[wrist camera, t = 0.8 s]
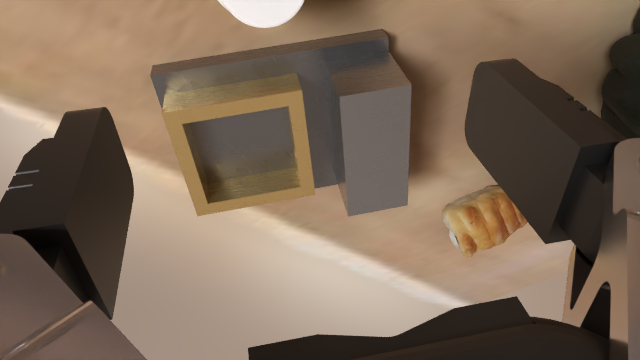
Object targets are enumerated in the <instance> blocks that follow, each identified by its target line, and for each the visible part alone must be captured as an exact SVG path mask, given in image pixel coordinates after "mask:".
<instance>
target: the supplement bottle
mask: <svg viewBox="0 0 640 360" xmlns="http://www.w3.org/2000/svg"><path fill="white" fill-rule="evenodd" d="M218 1H219V2H220V4H221V5H222V6H223V7H225V8H226V9H227V10H228V11H230V12H231V13H232V14H233V15H234V16H235V17H236V18H237V19H238V20H240V21H241V22H243V23H245V24H247V25H250V26H253V27H258V28H270V27H276V26H279V25H281V24H283V23H285V22H287V21H289V20H290V19H291V18H292V17H293V16H294V15H295V14H296V13H297V12H298V11H299V10H300V8H301V7H302V5H303V3H304V0H218Z"/></svg>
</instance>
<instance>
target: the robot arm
mask: <svg viewBox="0 0 640 360" xmlns="http://www.w3.org/2000/svg"><path fill="white" fill-rule="evenodd" d="M465 136H466V140H467V143H468V146H469V148H470V149H471V150H472V152H473V153H474V154H475V156H476V157H477V158H478V159H479V161H480V162H481V163H482V164H483V166H484V167H485V168H486V169H487V171H488V172H489V173H490V174H491V176H492V177H493V178H494V180H495V181H496V182H497V183H498V185H499V186H500V187H501V188H502V190H503V191H504V192H505V193H506V195H507V196H508V197H509V199H510V200H511V201H512V202H513V204H514V205H515V206H516V207H517V209H518V210H519V211H520V212H521V214H522V215H523V216H524V217H525V219H526V220H527V221H528V223H529V224H530V225H531V226H532V228H533V229H534V230H535V231H536V233H537V234H538V235H539V236H540V238H541V239H542V240H543V242H544V243H545V244H549V243H554V242H560V241H566V240H572V242H573V243H574V247H573V249H572V252H571V254H570V258H569V266H568V275H567V283H566V293H565V302H564V310H563V319H562V322H559V321H555V320H551V319H545V318H538V317H530V316H529V315H528V313H527V312H526V310H525V308H524V307H523V305H522V304H521V302H520V301H519V300H518V298H517V297H511V298H506V299H500V300H495V301H490V302H485V303H479V304H474V305H469V306H464V307H459V308H454V309H452V310H450V311H448V312H446V313H444V314H441V315H439V316H437V317H435V318H433V319H431V320H429V321H427V322H425V323H423V324H420V325H418V326H416V327H414V328H412V329H410V330H408V331H406V332H404V333H402V334H399V335H397V336H393V337H369V336H343V335H313V336H307V337H303V338H297V339H292V340H287V341H281V342H276V343H271V344H266V345H261V346H256V347H250V348H248V353H249V360H640V138H633V139H626V138H625V137H624V136H623V135H621V134H620V133H619V132H617V131H616V130H615V129H613V128H612V127H611V126H610V125H608V124H607V123H606V122H604V121H603V120H602V119H601V118H599V117H598V116H597V115H595V114H594V113H593V112H592V111H590V110H588V111H587V109H586V107H585V106H584V105H583V104H581V103H580V102H579V101H577V100H575V101H574V97H572V96H571V95H570V94H568V93H567V92H566V91H565V90H563V89H562V88H561V87H559V86H557V85H555V84H553V83H550V82H548V81H546V80H543V79H541V78H539V77H538V76H537V75H535V74H534V73H533V72H532V71H530V70H529V69H528V68H527V67H525V66H524V65H523V64H522V63H520V62H519V61H518V60H516V59H513V58H512V59H503V60H495V61H487V62H481V63H479V64H478V65H477V67H476V69H475V71H474V75H473V81H472V86H471V92H470V97H469V103H468V109H467V114H466V120H465ZM8 188H9V190H7V191H6V192H5V194H4V196H3V198H2V200H1V202H0V360H147V359H146V358H145V357H144V356H143V355H142V354H141V353H140V351H139V350H138V349H137V348H136V347H135V346H134V345H133V344H132V343H131V342H130V341H129V340H128V339H127V338H126V336H125V335H124V334H123V333H122V332H121V331H120V330H119V329H118V328H117V327H116V326H115V325H114V324H113V323H112V321H111V319H112V317H113V312H114V306H115V300H116V295H117V289H118V283H119V277H120V271H121V266H122V260H123V255H124V249H125V243H126V237H127V231H128V225H129V220H130V214H131V209H132V203H133V196H134V187H133V179H132V174H131V170H130V167H129V164H128V161H127V158H126V155H125V153H124V150H123V147H122V144H121V141H120V138H119V135H118V133H117V130H116V127H115V124H114V121H113V118H112V116H111V114H110V112H109V110H108V109H107V108H106V107H102V108H93V109H85V110H77V111H69V112H66V113H65V114H64V116H63V118H62V120H61V123H60V125H59V127H58V129H57V131H56V134H55V136H54V138H48V139H42V140H41V141H40V142H39V143H38V144H37V145H36V146H35V147H33V148H32V149H31V150H30V151H29V152H28V153H26V154H25V155H24V157H23V159H22V161H21V163H20V165H19V167H18V169H17V170H16V176H13V178H12V181H11V182H10V184H9V186H8Z"/></svg>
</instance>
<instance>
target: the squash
mask: <svg viewBox="0 0 640 360" xmlns="http://www.w3.org/2000/svg"><path fill="white" fill-rule="evenodd" d="M610 58H611V62H612V63H613V65H614V66H615V69H614V70H613V71H611V72H610V73H609V75H608V76H607V78H606V80H605V82H604V84H603V87H602V96H603V99H604V101H603V105H602V109H601V118H602V120H603V121H604V122H606V123H607V124H608V125H610V126H611V127H612V128H613V129H615V130H616V131H617V132H619V133H620V134H621V135H623V136H624V137H625V138H626V139H633V138H640V10H639V11H638V13H637V15H636V18H635V20H634V34H632V35H629V36H626V37H624V38H622V39H620V40H619V41H618V42H616V43H615V44H614V46H613V47H612V49H611V51H610Z"/></svg>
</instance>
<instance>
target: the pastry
mask: <svg viewBox="0 0 640 360" xmlns="http://www.w3.org/2000/svg"><path fill="white" fill-rule="evenodd" d="M442 217H443V220H444V222H445V224H446V225H447V227H448V228H449V230H450V233H449V235H450V239H451V240H452V243H453V244H454V245H455V246H456V247H457V248H458V250H459V251H460V252H461V253H462V254H463V255H464V256H467V257H472V255H473V253H475V252H480V251H482V250H485V249H489V248H492V247H493V246H496V245H500V244H502V243H504V242H505V241H506V239H507V238H508V237H509V236H510V235H511V234H512V233H513V232H515V231H516V230H517V229H518V228H520V227H523V226H524V225H525V224H526V223H527V222H528V221H527V220H526V219H525V217H524V216H523V215H522V214H521V212H520V211H519V210H518V209H517V207H516V206H515V205H514V204H513V202H512V201H511V200H510V199H509V197H508V196H507V195H506V193H505V192H504V191H503V190H502V188H501V187H500V186H499V185H497V186H495V185H493V186H487V187H485V188H484V189H483V190H479V191H476V192H474V193H472V194H469V195H466V196H463V197H461V198H459V199H457V200H455V201H453V202H451V203H450V204H448V205H447V206H445V207H444V209H443V212H442Z"/></svg>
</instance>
